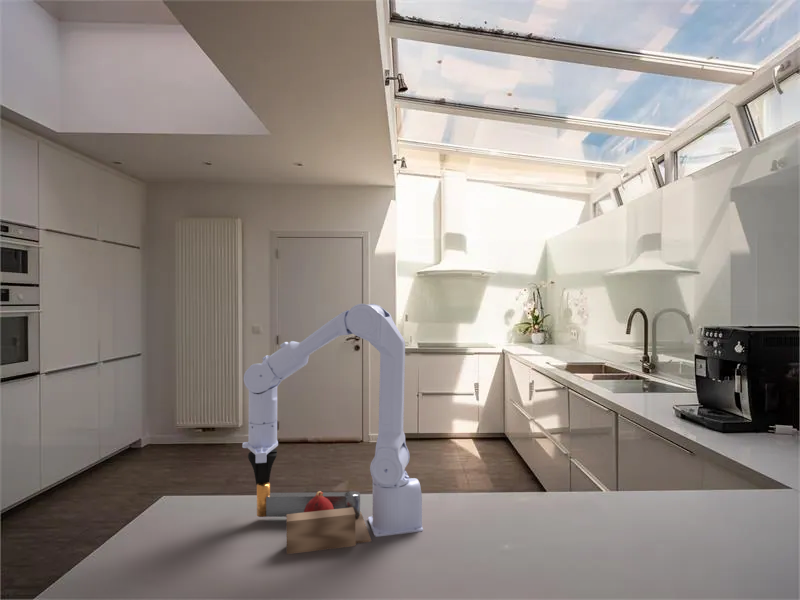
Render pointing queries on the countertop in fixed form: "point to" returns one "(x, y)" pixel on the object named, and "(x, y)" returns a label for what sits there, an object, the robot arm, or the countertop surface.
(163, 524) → the countertop surface
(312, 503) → the onion
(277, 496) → the lever
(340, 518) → the bench
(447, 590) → the countertop surface
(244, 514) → the countertop surface
